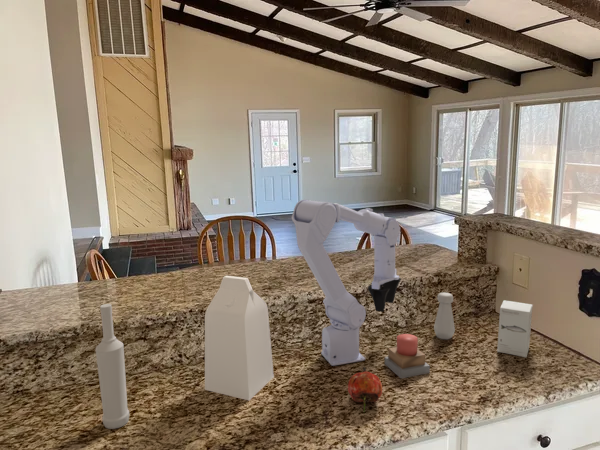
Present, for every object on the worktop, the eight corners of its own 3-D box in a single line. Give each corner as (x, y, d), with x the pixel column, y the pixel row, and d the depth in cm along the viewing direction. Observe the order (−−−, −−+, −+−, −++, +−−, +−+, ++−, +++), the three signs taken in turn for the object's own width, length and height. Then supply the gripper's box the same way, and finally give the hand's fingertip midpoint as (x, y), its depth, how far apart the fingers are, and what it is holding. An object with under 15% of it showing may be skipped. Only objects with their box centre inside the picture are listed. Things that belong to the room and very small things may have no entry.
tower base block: (400, 380, 110) (400, 371, 109) (384, 366, 117) (384, 356, 117) (429, 375, 112) (429, 365, 112) (411, 361, 120) (412, 352, 119)
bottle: (107, 415, 96) (96, 301, 92) (132, 413, 97) (123, 300, 93) (99, 430, 91) (87, 310, 87) (125, 428, 92) (115, 309, 88)
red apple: (383, 420, 96) (387, 376, 103) (377, 406, 92) (381, 360, 98) (349, 418, 99) (355, 374, 106) (341, 403, 94) (347, 359, 101)
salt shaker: (455, 341, 129) (457, 297, 127) (434, 340, 131) (435, 296, 128) (453, 333, 135) (454, 291, 133) (432, 332, 136) (434, 290, 134)
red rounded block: (403, 357, 111) (403, 343, 110) (392, 349, 115) (393, 335, 115) (421, 354, 112) (421, 340, 112) (410, 346, 117) (410, 332, 116)
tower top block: (402, 368, 110) (402, 359, 110) (388, 357, 116) (388, 348, 116) (425, 364, 112) (425, 354, 112) (410, 353, 118) (410, 344, 118)
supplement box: (496, 352, 122) (498, 307, 120) (500, 342, 128) (503, 299, 126) (527, 358, 118) (530, 311, 116) (530, 347, 125) (533, 303, 122)
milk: (273, 376, 111) (270, 273, 107) (249, 400, 101) (244, 287, 97) (232, 367, 116) (227, 268, 112) (204, 389, 106) (198, 281, 102)
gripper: (389, 267, 118) (389, 317, 120) (407, 255, 130) (406, 300, 133) (364, 264, 122) (364, 313, 124) (383, 252, 134) (383, 297, 136)
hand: (384, 306), depth 129 cm, fingers open, 7 cm apart
